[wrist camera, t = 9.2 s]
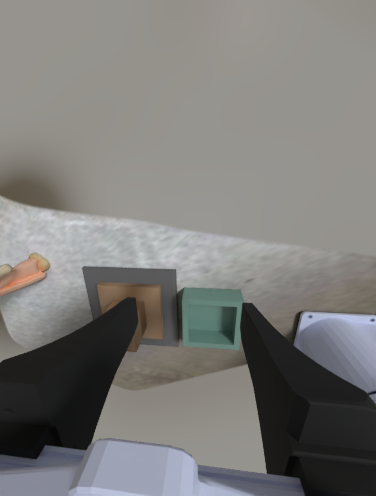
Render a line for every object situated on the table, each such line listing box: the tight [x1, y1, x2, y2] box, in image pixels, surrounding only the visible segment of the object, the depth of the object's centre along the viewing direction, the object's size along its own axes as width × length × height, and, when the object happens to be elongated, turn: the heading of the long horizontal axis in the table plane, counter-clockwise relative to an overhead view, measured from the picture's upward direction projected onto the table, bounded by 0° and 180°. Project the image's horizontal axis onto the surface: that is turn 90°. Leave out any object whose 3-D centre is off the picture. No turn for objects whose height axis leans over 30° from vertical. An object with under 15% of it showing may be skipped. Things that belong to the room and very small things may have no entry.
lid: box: [97, 282, 164, 352], centre depth 23 cm, size 8×8×5 cm
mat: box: [82, 266, 179, 347], centre depth 26 cm, size 12×12×1 cm
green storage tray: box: [182, 288, 244, 350], centre depth 24 cm, size 7×7×2 cm
